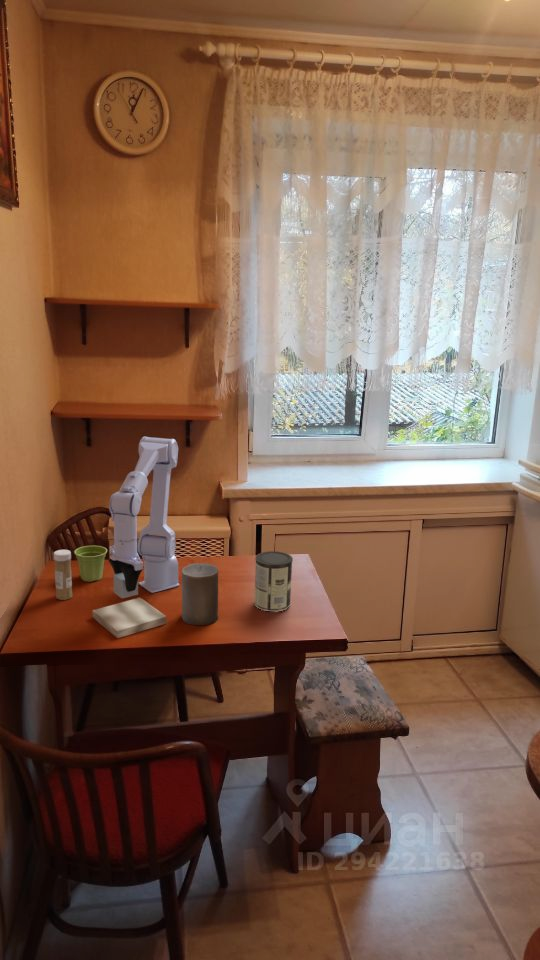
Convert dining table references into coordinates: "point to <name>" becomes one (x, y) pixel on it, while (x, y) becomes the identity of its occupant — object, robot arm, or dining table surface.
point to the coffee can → (273, 581)
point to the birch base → (129, 617)
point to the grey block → (122, 586)
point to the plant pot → (91, 562)
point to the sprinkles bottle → (63, 574)
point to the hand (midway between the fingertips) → (126, 587)
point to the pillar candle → (200, 594)
